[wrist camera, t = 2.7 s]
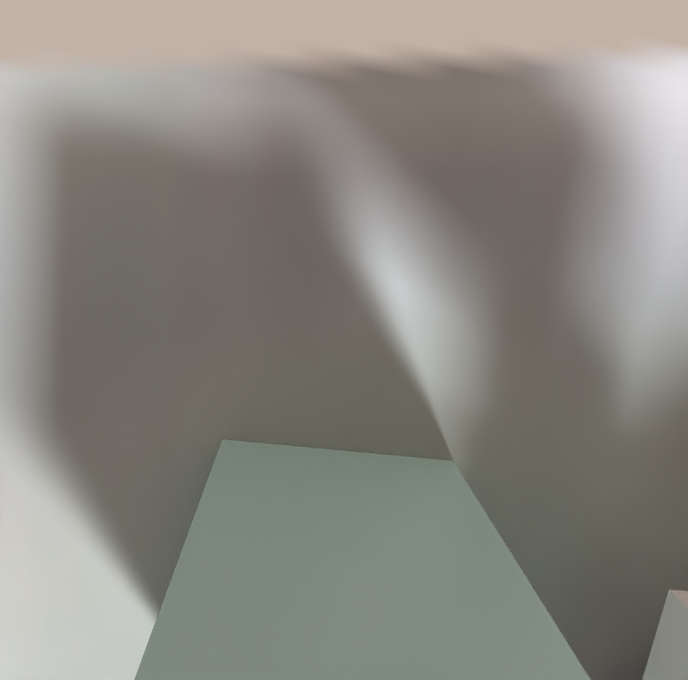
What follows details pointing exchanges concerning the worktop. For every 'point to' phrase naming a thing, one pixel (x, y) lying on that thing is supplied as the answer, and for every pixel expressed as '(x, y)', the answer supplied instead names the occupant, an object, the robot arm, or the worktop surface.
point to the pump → (348, 577)
